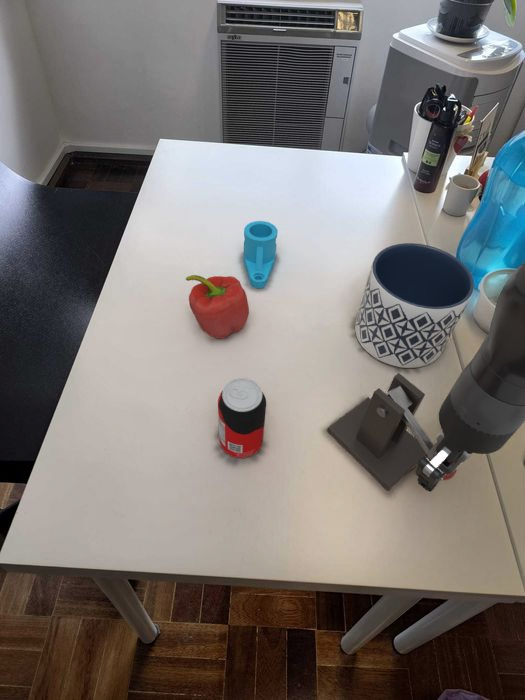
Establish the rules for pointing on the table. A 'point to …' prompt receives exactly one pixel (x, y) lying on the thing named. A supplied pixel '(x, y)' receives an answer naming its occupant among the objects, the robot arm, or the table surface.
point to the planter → (412, 304)
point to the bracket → (259, 251)
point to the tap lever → (413, 422)
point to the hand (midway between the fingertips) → (434, 475)
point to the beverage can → (241, 417)
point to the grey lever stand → (381, 434)
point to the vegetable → (219, 304)
